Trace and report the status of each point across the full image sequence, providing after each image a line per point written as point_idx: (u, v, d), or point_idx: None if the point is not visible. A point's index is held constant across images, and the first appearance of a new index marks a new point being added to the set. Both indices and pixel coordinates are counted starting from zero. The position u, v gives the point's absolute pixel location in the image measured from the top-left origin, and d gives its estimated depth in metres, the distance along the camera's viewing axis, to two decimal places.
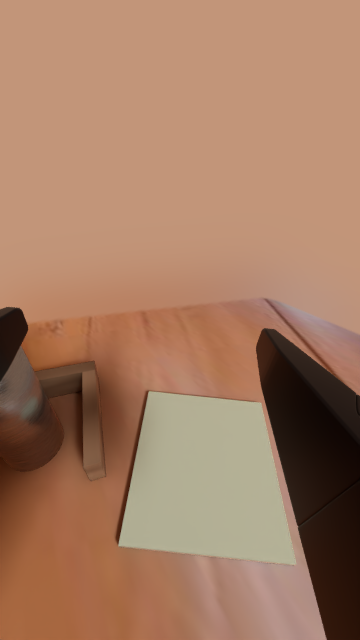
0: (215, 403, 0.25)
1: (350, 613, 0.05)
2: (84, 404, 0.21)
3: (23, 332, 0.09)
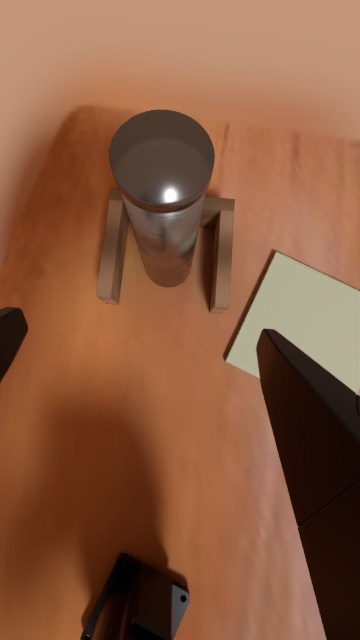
0: (340, 288, 0.23)
1: (350, 613, 0.05)
2: (220, 248, 0.21)
3: (23, 332, 0.09)
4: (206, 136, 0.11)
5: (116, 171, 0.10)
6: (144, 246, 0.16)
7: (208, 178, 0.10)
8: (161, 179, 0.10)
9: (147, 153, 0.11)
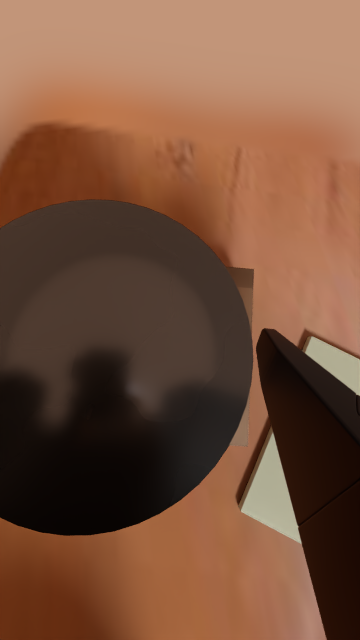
0: None
1: (350, 613, 0.05)
2: None
3: None
4: (227, 284, 0.04)
5: None
6: None
7: (235, 427, 0.03)
8: (83, 441, 0.03)
9: (43, 346, 0.03)
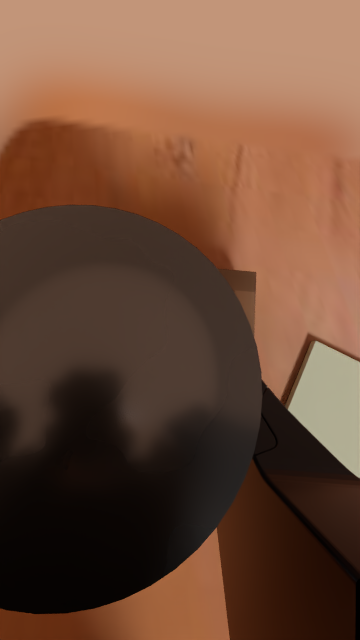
0: None
1: (239, 605, 0.05)
2: None
3: None
4: (231, 305, 0.03)
5: None
6: None
7: (240, 477, 0.03)
8: (58, 496, 0.03)
9: (12, 380, 0.03)
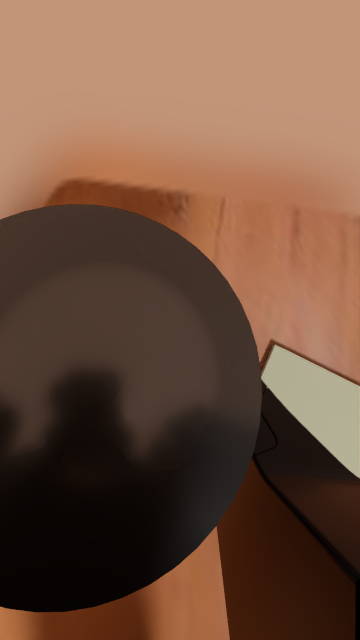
0: (343, 385, 0.22)
1: (239, 605, 0.05)
2: None
3: None
4: (231, 304, 0.03)
5: None
6: None
7: (240, 476, 0.03)
8: (59, 495, 0.03)
9: (13, 379, 0.03)
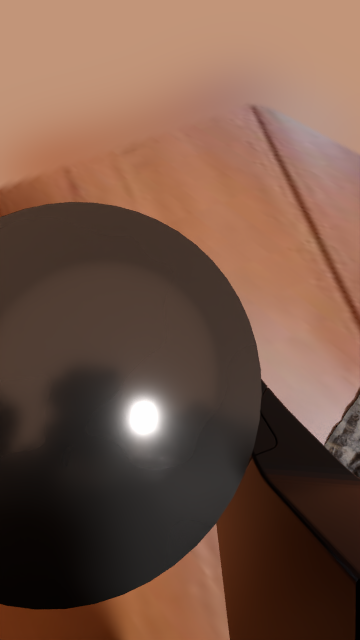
0: None
1: (239, 605, 0.05)
2: None
3: None
4: (231, 302, 0.03)
5: None
6: None
7: (240, 473, 0.03)
8: (58, 492, 0.03)
9: (12, 377, 0.03)
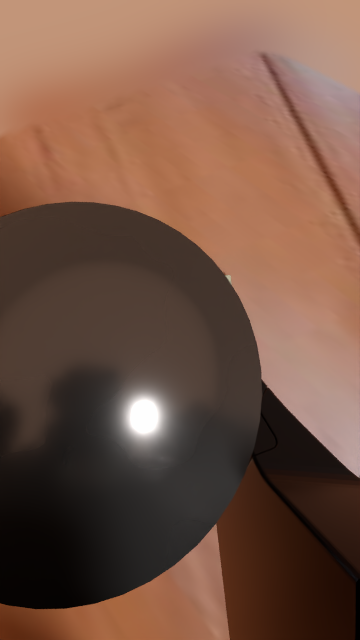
0: None
1: (239, 606, 0.05)
2: None
3: None
4: (231, 302, 0.03)
5: None
6: None
7: (240, 473, 0.03)
8: (59, 492, 0.03)
9: (13, 376, 0.03)
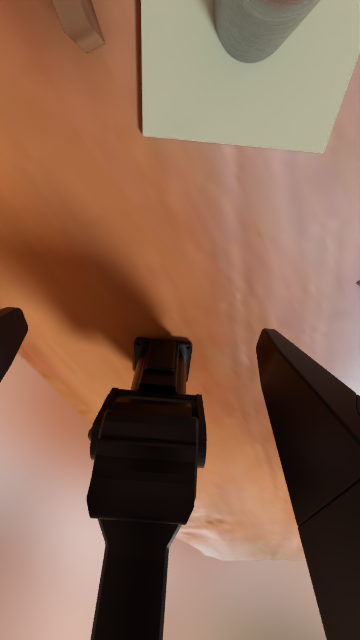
0: None
1: (350, 613, 0.05)
2: None
3: (23, 332, 0.09)
4: None
5: None
6: None
7: None
8: None
9: None
